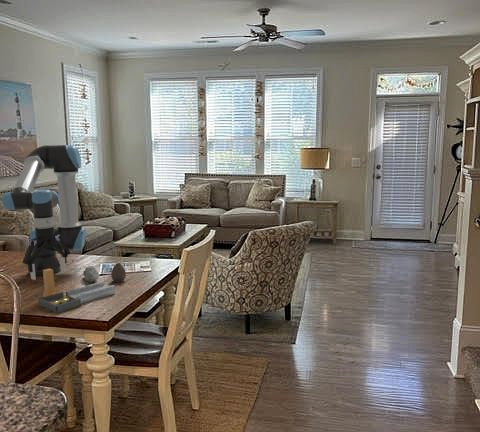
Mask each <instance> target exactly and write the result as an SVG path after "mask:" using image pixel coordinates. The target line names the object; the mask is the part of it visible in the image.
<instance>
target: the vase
mask: <svg viewBox="0 0 480 432" xmlns="http://www.w3.org/2000/svg"><path fill="white" fill-rule="evenodd" d="M114 264H115V265H114V266H113V267H112V269H111V271H110V277H111V279H112V281H113V282H115V283H122V282H123V281H124V280H125V279H126V277H127V271H126V268H125V267H124V266H123V264H122V263H121V262H116V263H114Z"/></svg>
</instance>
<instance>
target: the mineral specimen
mask: <svg viewBox="0 0 480 432" xmlns="http://www.w3.org/2000/svg"><path fill="white" fill-rule="evenodd" d="M82 273H83V276H84V280H85V281H86V282H90V283H92V284H93V283H94V282H97V280H98V279H99V277H100V274H99V272H98V270H97V269H96V268H95V266H93V265H88V266H86V267H85V268H84V270H83V272H82Z"/></svg>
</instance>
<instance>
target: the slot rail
mask: <svg viewBox="0 0 480 432" xmlns="http://www.w3.org/2000/svg"><path fill="white" fill-rule="evenodd" d="M114 294H116V286H115V285H113V284H112V285H105V282H104V281H99V282H95V283H92V284H88V285H84V286H81V287H77V288H74V289H70V290H66V291H65V297H67V298H70V299H72V300H76V299H81V305H82V304H85V303H88V302H91V301H95V300H99V299H102V298H104V297H108V296H111V295H114Z"/></svg>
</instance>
